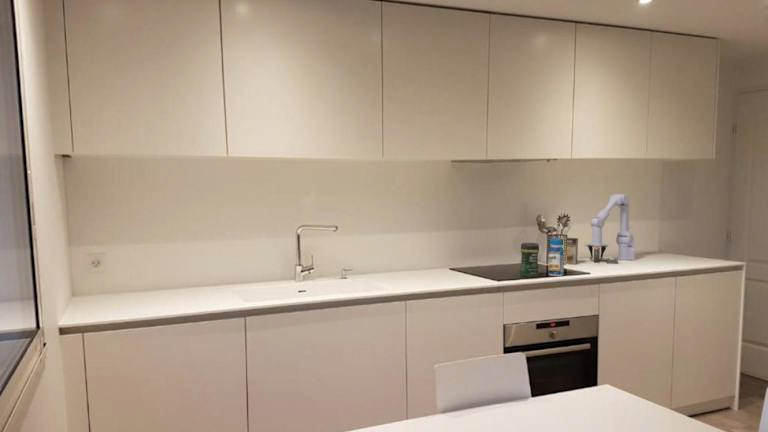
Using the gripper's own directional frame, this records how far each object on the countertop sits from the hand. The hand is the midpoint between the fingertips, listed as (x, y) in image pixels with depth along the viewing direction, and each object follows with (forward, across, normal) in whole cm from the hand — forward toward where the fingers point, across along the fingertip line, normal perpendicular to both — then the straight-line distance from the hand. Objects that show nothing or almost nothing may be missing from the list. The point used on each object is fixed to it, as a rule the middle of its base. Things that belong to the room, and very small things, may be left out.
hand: (596, 258), depth 334 cm
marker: (+3, 0, 0) cm, 3 cm away
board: (+3, +3, +11) cm, 12 cm away
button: (+3, +9, 0) cm, 9 cm away
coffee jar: (+3, -40, -62) cm, 74 cm away
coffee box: (+3, -17, -9) cm, 19 cm away
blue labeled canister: (+3, -26, -54) cm, 60 cm away
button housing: (+3, +9, 0) cm, 9 cm away
